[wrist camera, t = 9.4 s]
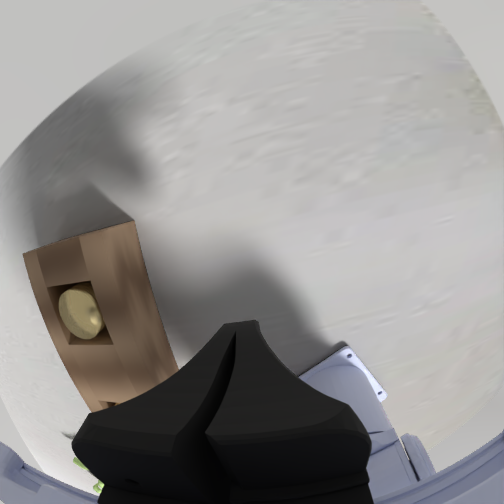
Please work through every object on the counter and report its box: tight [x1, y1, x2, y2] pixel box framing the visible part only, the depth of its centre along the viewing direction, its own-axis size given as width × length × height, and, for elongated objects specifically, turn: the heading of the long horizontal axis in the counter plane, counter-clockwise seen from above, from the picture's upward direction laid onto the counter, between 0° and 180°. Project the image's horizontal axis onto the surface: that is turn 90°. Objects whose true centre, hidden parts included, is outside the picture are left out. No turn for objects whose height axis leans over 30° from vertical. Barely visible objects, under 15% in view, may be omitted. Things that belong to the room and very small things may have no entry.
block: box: [23, 221, 179, 412], centre depth 20 cm, size 22×9×5 cm, turn 10°
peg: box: [59, 280, 106, 339], centre depth 19 cm, size 4×4×5 cm
